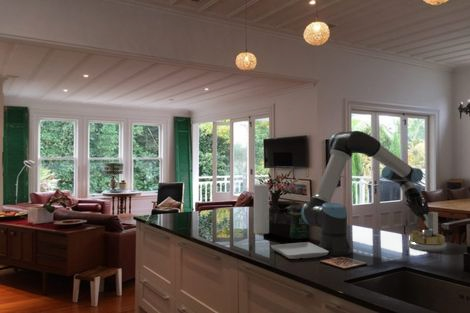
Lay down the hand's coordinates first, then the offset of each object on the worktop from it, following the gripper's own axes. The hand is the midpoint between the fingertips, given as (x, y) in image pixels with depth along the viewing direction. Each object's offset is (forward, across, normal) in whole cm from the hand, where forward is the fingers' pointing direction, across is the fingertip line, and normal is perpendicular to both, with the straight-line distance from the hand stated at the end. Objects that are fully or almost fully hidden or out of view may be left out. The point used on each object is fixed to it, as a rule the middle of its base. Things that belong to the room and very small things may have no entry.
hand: (429, 225), depth 202 cm
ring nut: (+10, +6, +1) cm, 11 cm away
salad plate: (+15, +75, 0) cm, 76 cm away
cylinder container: (-25, +81, -40) cm, 94 cm away
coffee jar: (-12, +63, -26) cm, 70 cm away
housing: (+12, +6, -2) cm, 14 cm away
